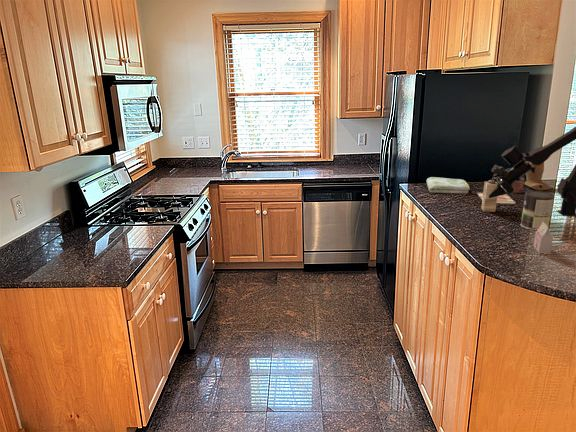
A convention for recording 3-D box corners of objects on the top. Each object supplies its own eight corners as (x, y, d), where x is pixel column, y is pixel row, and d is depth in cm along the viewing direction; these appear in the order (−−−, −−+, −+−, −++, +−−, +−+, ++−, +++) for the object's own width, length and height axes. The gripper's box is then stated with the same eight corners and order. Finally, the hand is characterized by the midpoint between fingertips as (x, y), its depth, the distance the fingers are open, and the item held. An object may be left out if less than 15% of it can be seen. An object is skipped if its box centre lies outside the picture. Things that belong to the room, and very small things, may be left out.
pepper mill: (495, 211, 201) (499, 182, 196) (483, 211, 202) (487, 181, 197) (492, 208, 205) (496, 179, 201) (481, 208, 206) (484, 179, 202)
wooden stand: (518, 184, 248) (522, 158, 243) (540, 184, 246) (545, 158, 241) (526, 190, 234) (531, 163, 229) (550, 191, 232) (555, 163, 227)
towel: (470, 194, 231) (471, 185, 229) (428, 193, 235) (429, 184, 233) (464, 186, 248) (465, 177, 246) (425, 185, 252) (426, 176, 250)
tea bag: (544, 247, 159) (548, 221, 156) (550, 254, 153) (554, 228, 150) (533, 246, 160) (537, 221, 157) (538, 254, 154) (543, 227, 151)
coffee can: (517, 227, 180) (522, 194, 175) (523, 221, 187) (528, 189, 183) (545, 232, 174) (551, 198, 169) (550, 225, 181) (556, 193, 177)
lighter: (505, 191, 233) (508, 173, 230) (505, 190, 236) (508, 172, 233) (522, 193, 230) (525, 174, 227) (522, 191, 233) (525, 173, 230)
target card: (515, 204, 211) (516, 202, 211) (485, 203, 213) (485, 201, 213) (505, 194, 228) (505, 193, 227) (477, 193, 230) (477, 192, 230)
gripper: (500, 155, 204) (472, 177, 210) (509, 163, 186) (478, 187, 193) (516, 172, 204) (488, 194, 210) (526, 182, 187) (495, 205, 193)
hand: (487, 194), depth 202 cm, fingers open, 9 cm apart
